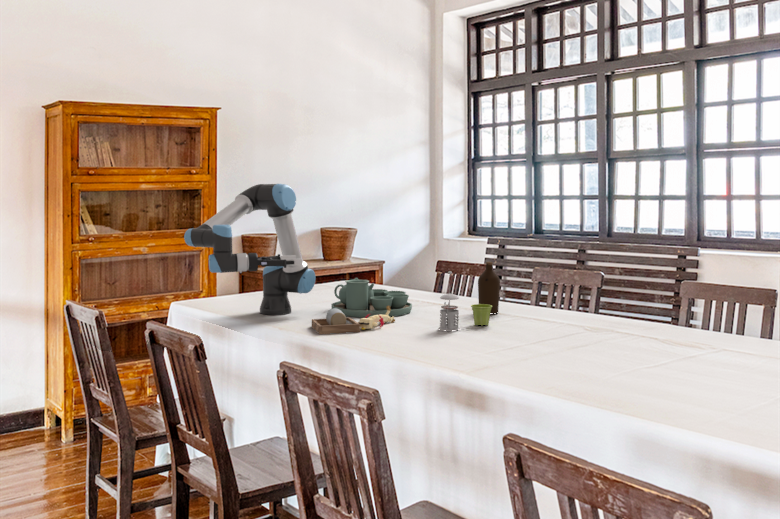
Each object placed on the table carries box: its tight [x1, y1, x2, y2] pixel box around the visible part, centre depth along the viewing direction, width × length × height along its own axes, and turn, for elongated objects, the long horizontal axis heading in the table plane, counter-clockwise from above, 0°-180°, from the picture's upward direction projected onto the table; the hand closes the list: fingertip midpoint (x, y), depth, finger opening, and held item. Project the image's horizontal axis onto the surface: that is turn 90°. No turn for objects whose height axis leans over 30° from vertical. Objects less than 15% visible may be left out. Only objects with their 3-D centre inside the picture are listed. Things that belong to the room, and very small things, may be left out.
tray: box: [311, 316, 361, 335], centre depth 291 cm, size 17×17×3 cm
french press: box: [437, 270, 461, 332], centre depth 290 cm, size 10×12×25 cm
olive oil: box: [477, 261, 501, 313], centre depth 333 cm, size 11×11×25 cm
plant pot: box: [470, 303, 492, 326], centre depth 302 cm, size 9×9×9 cm
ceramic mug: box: [325, 308, 352, 325], centre depth 291 cm, size 11×8×8 cm
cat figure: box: [357, 306, 396, 330], centre depth 299 cm, size 10×9×25 cm
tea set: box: [330, 277, 413, 318], centre depth 339 cm, size 40×40×16 cm
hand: (298, 260), depth 289 cm, fingers open, 13 cm apart
